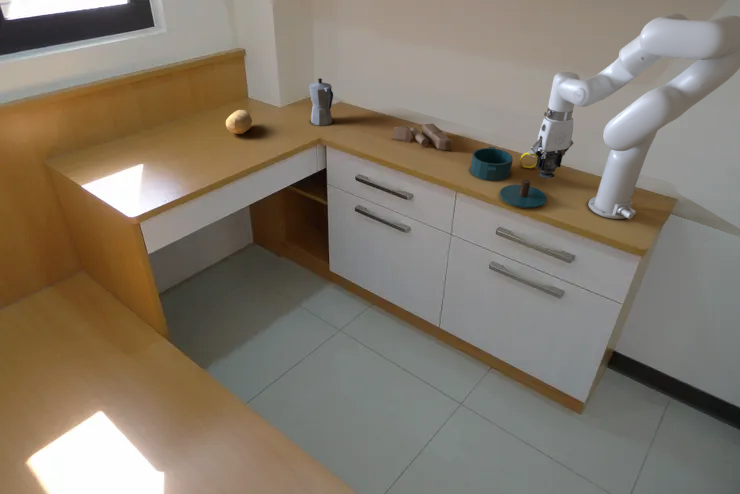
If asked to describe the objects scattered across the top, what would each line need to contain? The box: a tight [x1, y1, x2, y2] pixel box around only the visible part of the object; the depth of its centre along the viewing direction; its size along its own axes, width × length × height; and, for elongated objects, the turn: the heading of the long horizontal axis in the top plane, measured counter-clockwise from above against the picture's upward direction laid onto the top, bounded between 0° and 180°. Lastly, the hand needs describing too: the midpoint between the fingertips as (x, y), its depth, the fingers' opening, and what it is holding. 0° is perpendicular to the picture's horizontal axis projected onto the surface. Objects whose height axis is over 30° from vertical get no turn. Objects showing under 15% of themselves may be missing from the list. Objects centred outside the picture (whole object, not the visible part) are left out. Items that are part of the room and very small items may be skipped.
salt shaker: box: [537, 151, 558, 180], centre depth 168 cm, size 6×6×12 cm
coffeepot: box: [308, 77, 334, 127], centre depth 210 cm, size 15×9×18 cm, turn 37°
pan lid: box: [499, 178, 548, 209], centre depth 162 cm, size 14×14×6 cm
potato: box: [225, 109, 253, 135], centre depth 203 cm, size 10×14×8 cm
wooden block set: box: [392, 123, 452, 151], centre depth 196 cm, size 17×6×18 cm
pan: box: [470, 146, 514, 182], centre depth 177 cm, size 13×19×6 cm
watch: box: [519, 150, 538, 170], centre depth 181 cm, size 6×3×6 cm, turn 78°
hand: (547, 166), depth 170 cm, fingers closed on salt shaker, 5 cm apart
